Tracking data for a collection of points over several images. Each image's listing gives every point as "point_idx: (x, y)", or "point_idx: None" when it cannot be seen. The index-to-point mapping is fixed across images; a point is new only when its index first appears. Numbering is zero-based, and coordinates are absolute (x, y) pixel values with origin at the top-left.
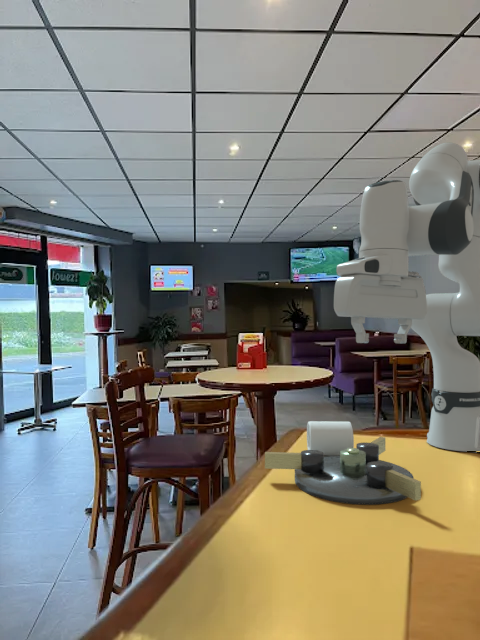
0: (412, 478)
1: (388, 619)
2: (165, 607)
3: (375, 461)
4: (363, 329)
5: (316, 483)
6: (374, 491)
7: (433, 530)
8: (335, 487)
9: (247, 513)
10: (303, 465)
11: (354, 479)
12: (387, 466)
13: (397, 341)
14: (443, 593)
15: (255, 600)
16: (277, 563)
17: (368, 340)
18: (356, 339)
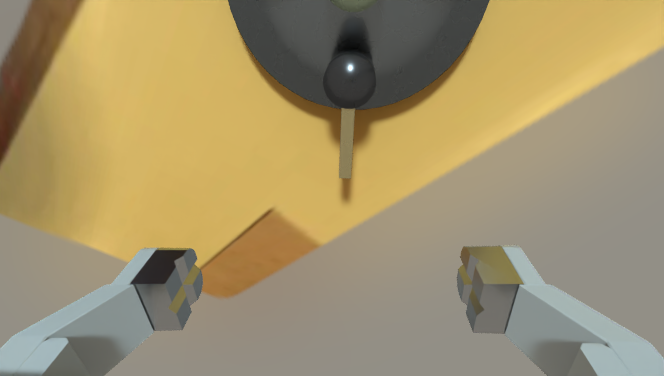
0: (350, 162)
1: None
2: (2, 188)
3: (360, 57)
4: (122, 352)
5: (240, 4)
6: (319, 95)
7: (327, 194)
8: (265, 44)
9: (99, 27)
10: None
11: (328, 21)
12: (356, 97)
13: (465, 269)
14: (241, 269)
15: (82, 212)
16: (114, 173)
17: (197, 294)
18: (136, 258)
